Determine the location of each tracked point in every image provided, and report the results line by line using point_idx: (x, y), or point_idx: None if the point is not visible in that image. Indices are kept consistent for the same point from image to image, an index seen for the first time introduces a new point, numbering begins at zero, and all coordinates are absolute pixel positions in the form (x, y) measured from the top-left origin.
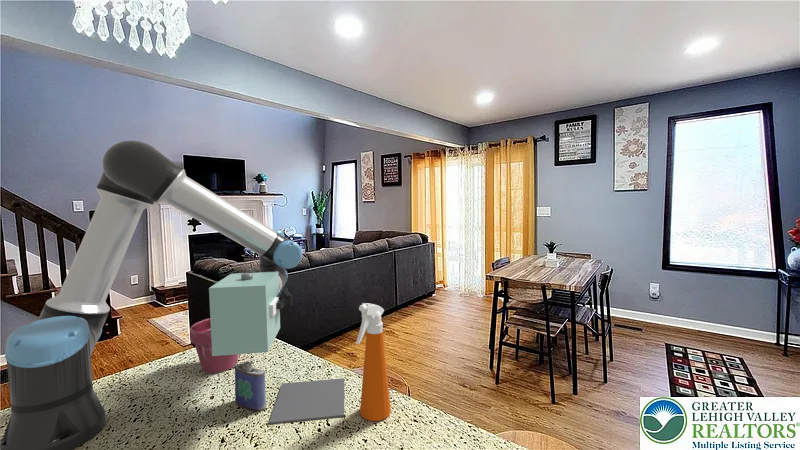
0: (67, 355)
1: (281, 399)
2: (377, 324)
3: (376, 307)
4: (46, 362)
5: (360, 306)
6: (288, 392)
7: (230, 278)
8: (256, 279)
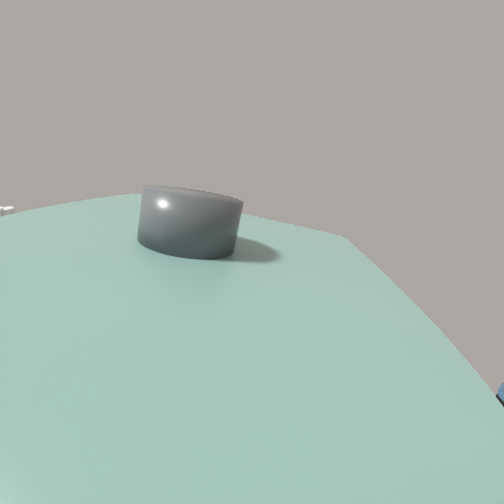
0: (502, 394)
1: None
2: None
3: None
4: (501, 385)
5: (13, 208)
6: None
7: (363, 302)
8: (125, 221)
